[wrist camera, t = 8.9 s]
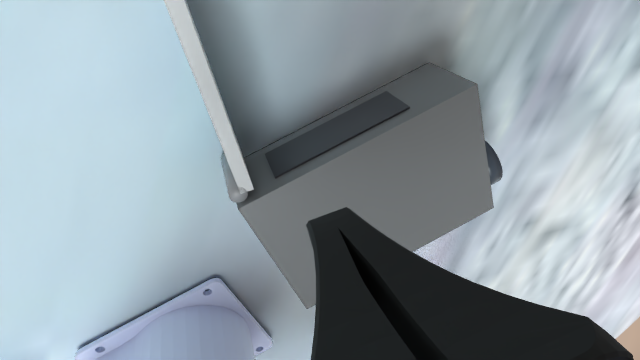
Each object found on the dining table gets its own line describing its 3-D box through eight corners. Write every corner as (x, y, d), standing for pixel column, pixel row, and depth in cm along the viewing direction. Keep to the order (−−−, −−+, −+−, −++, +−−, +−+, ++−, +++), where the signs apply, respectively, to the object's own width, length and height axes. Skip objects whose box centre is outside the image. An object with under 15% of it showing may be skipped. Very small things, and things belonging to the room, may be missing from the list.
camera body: (289, 261, 25) (310, 317, 21) (227, 164, 20) (238, 215, 16) (465, 167, 25) (516, 205, 22) (445, 52, 21) (505, 75, 17)
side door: (244, 160, 20) (256, 196, 17) (224, 167, 20) (232, 205, 17) (91, -259, 11) (63, -327, 9) (53, -253, 11) (11, -321, 8)
